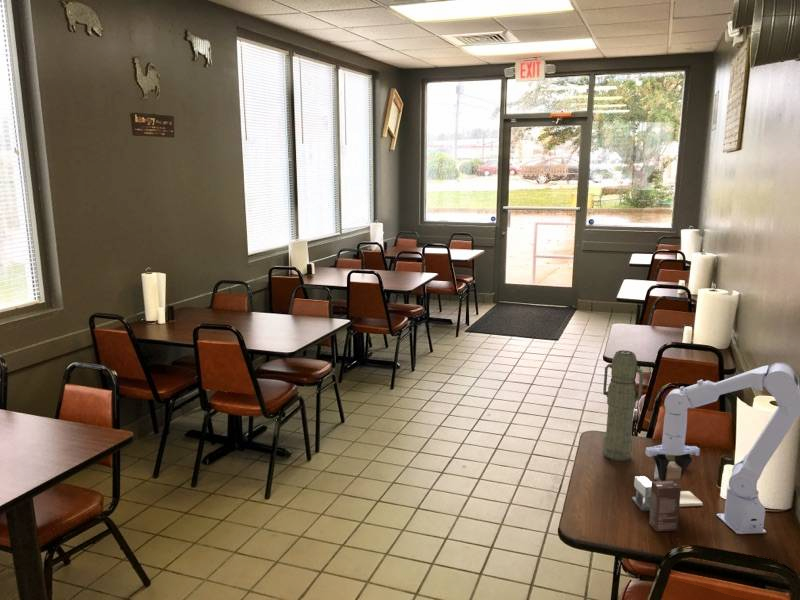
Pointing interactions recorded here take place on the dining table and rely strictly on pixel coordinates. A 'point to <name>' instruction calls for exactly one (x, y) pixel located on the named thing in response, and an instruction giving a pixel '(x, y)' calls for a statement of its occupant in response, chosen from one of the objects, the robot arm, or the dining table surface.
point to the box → (664, 505)
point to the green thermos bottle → (621, 405)
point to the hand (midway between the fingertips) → (669, 479)
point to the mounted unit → (642, 492)
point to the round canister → (656, 474)
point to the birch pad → (689, 499)
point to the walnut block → (673, 473)
